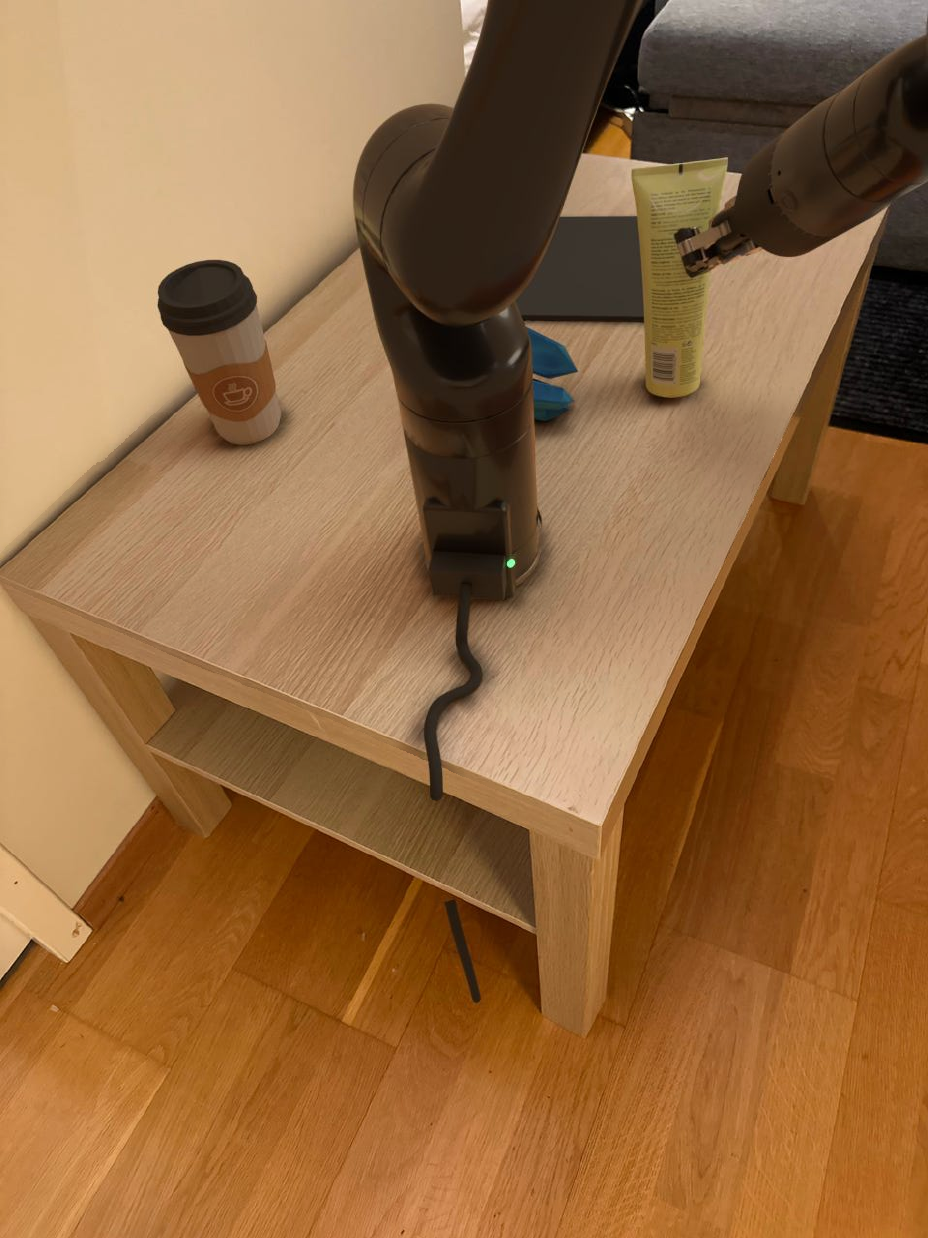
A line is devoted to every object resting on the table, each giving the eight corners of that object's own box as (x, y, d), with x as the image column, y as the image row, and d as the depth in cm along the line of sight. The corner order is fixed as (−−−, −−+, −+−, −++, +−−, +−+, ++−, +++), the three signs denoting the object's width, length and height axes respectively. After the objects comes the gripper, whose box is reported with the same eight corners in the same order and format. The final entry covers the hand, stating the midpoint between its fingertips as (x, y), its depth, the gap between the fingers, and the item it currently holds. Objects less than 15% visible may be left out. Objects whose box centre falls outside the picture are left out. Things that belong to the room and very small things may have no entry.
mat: (656, 321, 91) (656, 316, 90) (444, 318, 95) (443, 313, 94) (661, 220, 103) (661, 215, 102) (472, 221, 107) (472, 216, 106)
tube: (674, 365, 86) (679, 147, 73) (716, 381, 83) (729, 155, 70) (633, 389, 84) (630, 168, 71) (675, 406, 81) (679, 177, 68)
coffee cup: (211, 462, 83) (153, 320, 72) (203, 409, 89) (148, 269, 77) (298, 440, 84) (255, 297, 72) (286, 389, 89) (244, 247, 78)
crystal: (573, 383, 75) (446, 329, 77) (552, 455, 82) (437, 403, 84) (605, 334, 79) (483, 283, 81) (582, 406, 86) (471, 358, 88)
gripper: (891, 87, 58) (744, 195, 75) (719, 145, 55) (607, 243, 72) (925, 202, 59) (773, 283, 76) (758, 264, 56) (639, 333, 73)
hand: (692, 263), depth 74 cm, fingers closed
